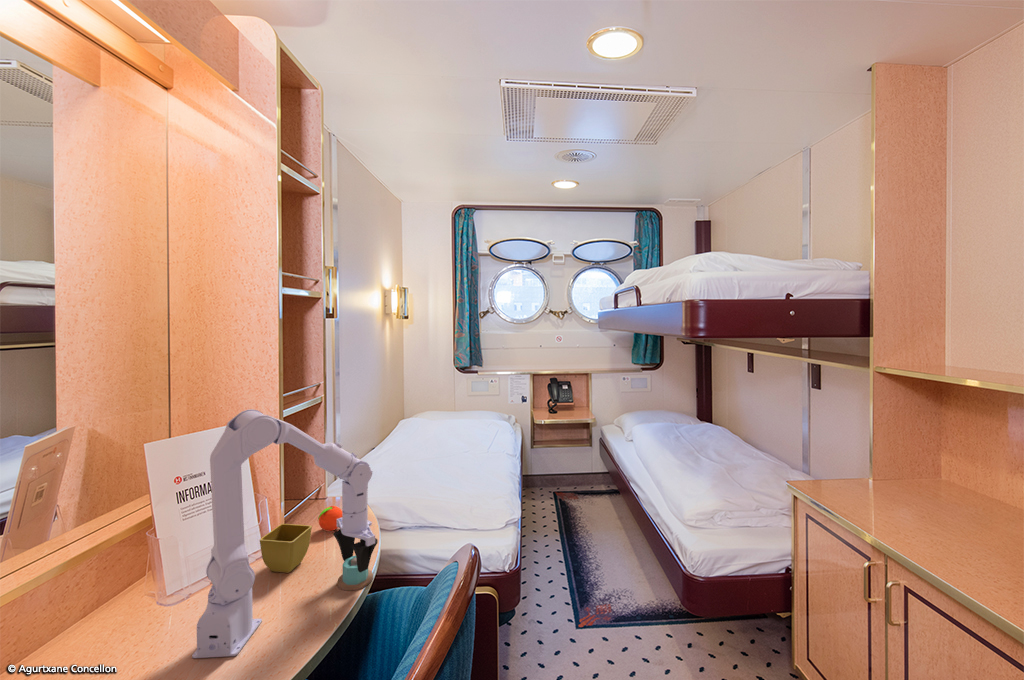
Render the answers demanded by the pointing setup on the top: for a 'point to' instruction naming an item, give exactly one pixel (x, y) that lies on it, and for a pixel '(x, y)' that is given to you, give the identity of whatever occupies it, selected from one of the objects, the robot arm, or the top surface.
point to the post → (358, 586)
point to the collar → (353, 573)
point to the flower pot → (285, 546)
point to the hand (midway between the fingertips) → (355, 564)
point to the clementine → (329, 518)
